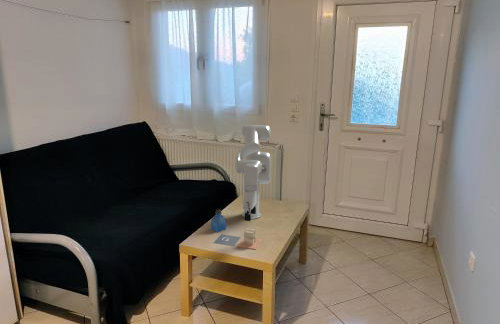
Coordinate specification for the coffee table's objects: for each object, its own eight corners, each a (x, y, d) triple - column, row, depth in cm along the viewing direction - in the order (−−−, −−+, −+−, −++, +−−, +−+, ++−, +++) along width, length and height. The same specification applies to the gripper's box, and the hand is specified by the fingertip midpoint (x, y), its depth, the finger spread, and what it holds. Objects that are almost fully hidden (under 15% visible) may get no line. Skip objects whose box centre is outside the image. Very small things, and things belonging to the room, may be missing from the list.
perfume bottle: (211, 229, 213) (211, 210, 210) (219, 226, 217) (219, 207, 215) (217, 232, 209) (217, 213, 206) (226, 229, 213) (226, 210, 210)
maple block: (246, 240, 198) (247, 228, 197) (255, 241, 197) (255, 229, 195) (244, 243, 194) (244, 231, 192) (252, 245, 192) (253, 233, 191)
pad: (244, 237, 202) (244, 236, 202) (261, 240, 200) (261, 239, 199) (237, 247, 191) (237, 246, 191) (255, 249, 188) (255, 248, 188)
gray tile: (221, 234, 206) (221, 234, 206) (241, 237, 203) (241, 237, 203) (213, 243, 195) (213, 242, 195) (233, 246, 192) (233, 246, 192)
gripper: (248, 181, 197) (248, 210, 202) (238, 191, 181) (238, 222, 186) (261, 182, 195) (261, 212, 199) (252, 193, 179) (252, 224, 183)
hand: (250, 217), depth 192 cm, fingers open, 9 cm apart
